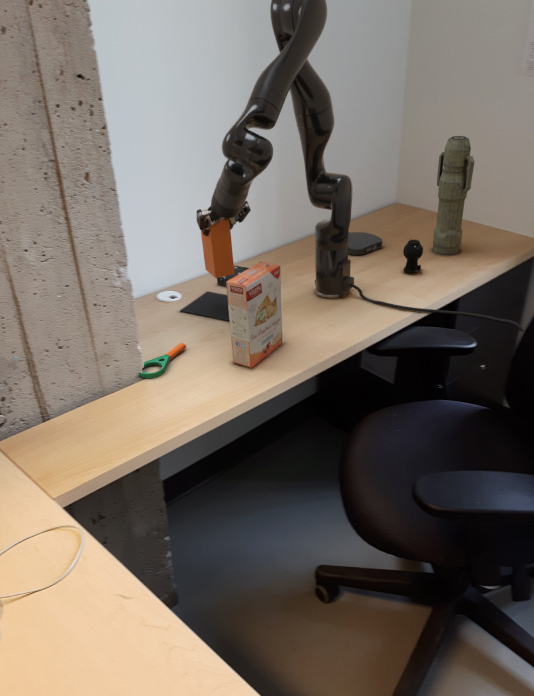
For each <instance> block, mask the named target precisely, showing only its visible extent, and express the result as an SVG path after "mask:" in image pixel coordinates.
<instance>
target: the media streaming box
mask: <svg viewBox="0 0 534 696" xmlns="http://www.w3.org/2000/svg"><path fill="white" fill-rule="evenodd" d="M382 247H383V238H382V237H379V236H378V235H376V234H373V233H370V232H366V231H365V232H364V231H350V232H349V236H348V255H353V256H360V255H361V256H362V255H364V254H367V253H371V252H374V251H376V250H379V249H380V248H382Z"/></svg>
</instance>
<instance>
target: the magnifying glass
mask: <svg viewBox="0 0 534 696" xmlns="http://www.w3.org/2000/svg"><path fill="white" fill-rule="evenodd" d="M186 348H187V345H186V344H185V343H183V342H180V343H179V344H177V345H176V346H174V347H173V348H172V349H170V350H169V351H167V352H166V353H165V354H162V355H160V356H157V357H155V358H151V359H149V360H147V361H144V362H143V363H144V368H143V369H145V368H146V367H149V366H153V365H156V366H160V367H161V368H160V369H158V370H157V371H153V372H145V371H143V372H144V373H142V374H141V373H139V372H138V375H139V377H141V378H144V379H153V378H156V377H159V376H162V375H163V374H164V373H165V372H166V370H167V367H168V366H169V363H170V361H171V360H172V359H173V358H174V357H176V356H177V355H178V354H181V352H182V351H184V350H185V349H186Z"/></svg>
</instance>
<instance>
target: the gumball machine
mask: <svg viewBox="0 0 534 696" xmlns="http://www.w3.org/2000/svg"><path fill="white" fill-rule="evenodd" d="M402 250H403V251H402V253H403V257H404V258H405V259H406V263H405V266H404V267H403V270H402V271H403V272H404V273H405V274H408V275H409V274H410V275H413V274H419V273H421V269H422V265H421V264H419V262H418V261H419V259H421V258H422V257H423V254H424V247H423V245H422V244H421V242H420V240H418V239H412V238H411V237H410V238H409V239H408V241H407V243H406V244H405V245H404V247H403V249H402Z"/></svg>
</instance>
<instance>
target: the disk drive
mask: <svg viewBox="0 0 534 696" xmlns="http://www.w3.org/2000/svg"><path fill="white" fill-rule="evenodd" d="M249 268H250V267H247V266H246V267H245V266H240V265H234V274H232V275H228V276H223V277H219V278H216V283H217V285H220V286H225V287H227V284H226V282H227V281H228V280H230V279H232V278H234V277H235V276H237V275H239V274H240V273H242V272H244V271H246V270H247V269H249Z"/></svg>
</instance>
